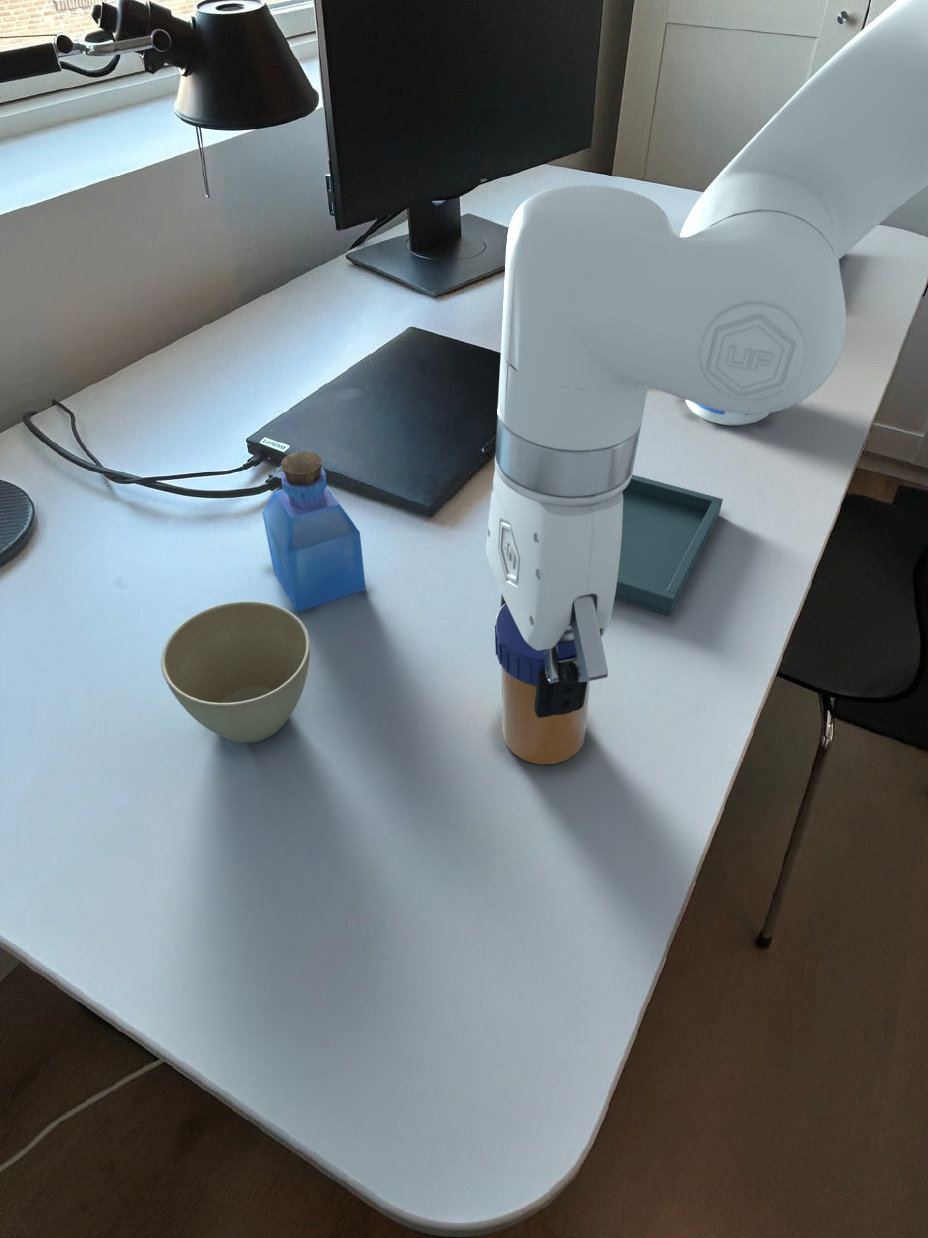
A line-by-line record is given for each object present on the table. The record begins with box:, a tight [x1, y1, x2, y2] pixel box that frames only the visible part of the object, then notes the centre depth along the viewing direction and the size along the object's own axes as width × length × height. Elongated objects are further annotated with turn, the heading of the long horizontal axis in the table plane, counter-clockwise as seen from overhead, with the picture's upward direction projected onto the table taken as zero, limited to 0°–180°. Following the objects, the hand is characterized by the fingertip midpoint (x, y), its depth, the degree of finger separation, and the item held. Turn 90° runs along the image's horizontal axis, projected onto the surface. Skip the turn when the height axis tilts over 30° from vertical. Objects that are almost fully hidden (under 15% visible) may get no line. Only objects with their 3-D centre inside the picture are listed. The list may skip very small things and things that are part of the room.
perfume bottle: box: [262, 450, 367, 613], centre depth 72 cm, size 6×6×12 cm
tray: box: [614, 474, 724, 617], centre depth 79 cm, size 16×14×2 cm
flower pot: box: [160, 600, 311, 744], centre depth 63 cm, size 10×10×7 cm
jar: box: [501, 666, 591, 765], centre depth 60 cm, size 6×6×10 cm
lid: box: [494, 603, 577, 686], centre depth 57 cm, size 7×7×2 cm
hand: (539, 668), depth 59 cm, fingers closed on lid, 6 cm apart
